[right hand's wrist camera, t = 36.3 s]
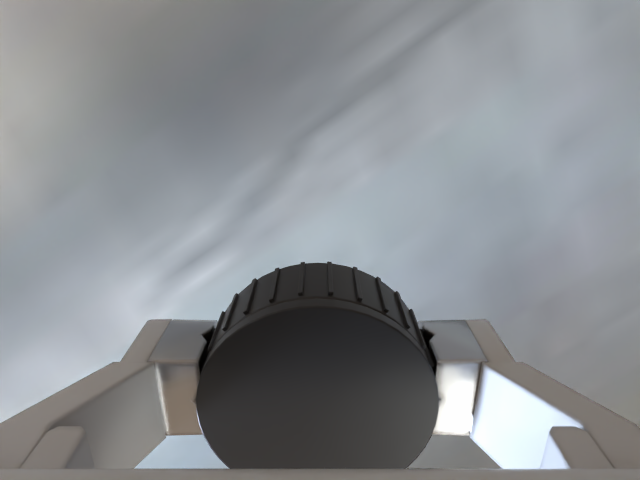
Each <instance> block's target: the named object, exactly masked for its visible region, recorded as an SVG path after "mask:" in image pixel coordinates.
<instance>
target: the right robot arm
mask: <svg viewBox="0 0 640 480" xmlns="http://www.w3.org/2000/svg"><path fill="white" fill-rule="evenodd" d="M217 323H218V322H217V320H172V319H152V320H149V321H147V322H146V324H145V325H144V327H143V328H142V330H141V331H140V333H139V334H138V336H137V337H136V339H135V340H134V342H133V343H132V345H131V346H130V348H129V349H128V351H127V352H126V354H125V355H124V357H123V358H122V360H121V361H120V362H112V363H111V364H109V365H107V366H105V367H103V368H101V369H100V370H98V371H96V372H94V373H92V374H90V375H88V376H87V377H85V378H83V379H81V380H79V381H77V382H76V383H74V384H72V385H70V386H68V387H66V388H65V389H63V390H61V391H59V392H57V393H55V394H53V395H52V396H50V397H48V398H46V399H44V400H42V401H41V402H39V403H37V404H35V405H33V406H31V407H30V408H28V409H26V410H24V411H22V412H20V413H18V414H17V415H15V416H13V417H11V418H9V419H7V420H6V421H4V422H2V423H0V480H640V428H639V427H638V426H637V425H636V424H634V423H632V422H630V421H629V420H627V419H625V418H623V417H621V416H620V415H618V414H616V413H614V412H612V411H610V410H609V409H607V408H605V407H603V406H601V405H600V404H598V403H596V402H594V401H592V400H590V399H589V398H587V397H585V396H583V395H581V394H579V393H578V392H576V391H574V390H572V389H570V388H569V387H567V386H565V385H563V384H561V383H559V382H558V381H556V380H554V379H552V378H550V377H549V376H547V375H545V374H543V373H541V372H539V371H538V370H536V369H534V368H532V367H530V366H529V365H527V364H525V363H523V362H515V360H514V359H513V357H512V356H511V354H510V353H509V351H508V350H507V348H506V347H505V345H504V344H503V342H502V341H501V339H500V338H499V336H498V335H497V333H496V332H495V330H494V329H493V327H492V326H491V324H490V322H489V321H488V320H486V319H473V320H439V321H418V326H419V329H421V332H422V335H423V338H424V339H425V342H426V345H427V347H428V351H429V354H430V356H431V359H432V362H433V364H434V370H433V372H434V375H435V379H436V382H437V385H438V393H439V412H438V417H437V421H436V425H435V428H434V431H433V433H432V434H435V435H470V438H471V439H472V440H473V441H474V442H475V443H476V444H477V445H478V446H479V447H480V448H481V449H482V450H484V451H485V452H486V453H487V454H488V455H489V456H490V457H491V458H492V459H493V460H494V461H495V462H496V463H497V464H498V465H499V466H500V467H501V468H502V469H134V468H135V467H136V466H137V465H138V464H139V463H140V462H141V461H142V460H143V459H144V458H145V457H146V456H147V455H148V454H149V453H150V452H151V451H152V450H154V449H155V448H156V447H157V446H158V445H159V444H160V443H161V442H162V441H163V440H164V439H165V438H166V435H200V434H203V433H202V430H201V428H200V425H199V421H198V416H197V411H196V393H197V386H198V382H199V379H200V375H201V372H202V367H203V365H204V362H205V360H206V357H207V355H208V350H207V349H208V347H209V344H210V341H211V339H212V336H213V334H214V331H215V328H216V326H217Z"/></svg>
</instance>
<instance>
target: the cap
mask: <svg viewBox="0 0 640 480" xmlns="http://www.w3.org/2000/svg"><path fill="white" fill-rule="evenodd" d="M207 350H208V355H207V357H206V360H205V362H204V365H203V367H202V372H201V375H200V379H199V382H198V386H197V393H196V411H197V416H198V421H199V425H200V428H201V430H202V433H203V435H204V437H205V439H206V441H207V443H208V444H209V446H210V448H211V449H212V450H213V452H214V453H215V454H216V455H217V457H218V458H219V459H220V460H221V461H222V462H223V463H224V464H225V465H226V466H227V467H228V468H230V469H406V468H407V467H408V466H409V465H410V464H411V463H412V462H413V461H414V460H415V459H416V458H417V457H418V456H419V454H420V453H421V452H422V451H423V449H424V448H425V446H426V445H427V443H428V441H429V439H430V438H431V436H432V433H433V431H434V428H435V425H436V421H437V417H438V412H439V393H438V385H437V382H436V379H435V375H434V372H433V370H434V364H433V362H432V359H431V356H430V354H429V351H428V347H427V345H426V342H425V339H424V338H423V335H422V332H421V329H419V326H418V323H417V320H416V318H415V315H414V312H413V310H412V309H410V310H409V309H408V307H407V306H406V305H405V303H404V302H403V300H402V299H401V297H400V294H399V293H398V292H397V291H396V292H394V291H393V290H392V289H391V288H389V287H388V286H387V285H386V284H384V283H383V282H381V279H380V278H379V277H377V278H375V277H373V276H371V275H369V274H367V273H364V272H362V271H360V270H357V268H356V267H353V268H350V267H347V266H342V265H336V264H332V263H331V262H327V263H307V264H305V262H301V264H299V265H294V266H289V267H285V268H282V269H279V268H276V269H275V271H273V272H271V273H269V274H267V275H265V276H262V277H261V278H259V279H258V280H257V279H256V278H255V279H254V280H252V283H251V284H250V285H249V286H247V287H246V288H245V289H244V290H243V291H241V292H240V293H239V295H238V294H237V293H236V294H235V295H234V298H233V300H232V302H231V304H230V305H229V307H228V308H227V310H226V311H225V312H223V311H222V313H221V315H220V318H219V321H218V323H217V326H216V328H215V331H214V334H213V336H212V339H211V341H210V344H209V347H208V349H207Z"/></svg>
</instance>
